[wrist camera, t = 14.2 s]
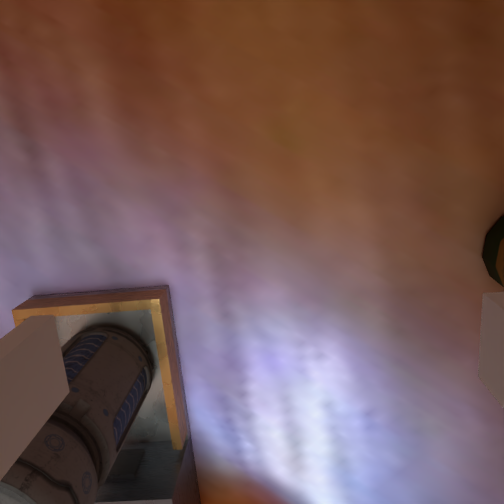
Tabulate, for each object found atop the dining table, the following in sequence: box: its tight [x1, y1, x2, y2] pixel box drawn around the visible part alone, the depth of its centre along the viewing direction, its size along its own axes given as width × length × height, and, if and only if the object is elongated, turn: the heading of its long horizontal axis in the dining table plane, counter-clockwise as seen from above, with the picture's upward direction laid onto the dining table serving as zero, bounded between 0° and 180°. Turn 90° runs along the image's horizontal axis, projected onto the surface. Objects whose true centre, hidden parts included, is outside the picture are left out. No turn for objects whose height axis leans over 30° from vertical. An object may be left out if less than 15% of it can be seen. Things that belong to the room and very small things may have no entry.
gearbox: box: [12, 285, 201, 504], centre depth 47 cm, size 28×15×12 cm, turn 6°
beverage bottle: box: [0, 327, 153, 504], centre depth 38 cm, size 10×13×25 cm
